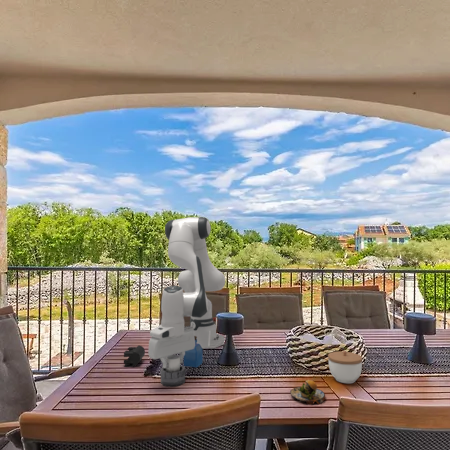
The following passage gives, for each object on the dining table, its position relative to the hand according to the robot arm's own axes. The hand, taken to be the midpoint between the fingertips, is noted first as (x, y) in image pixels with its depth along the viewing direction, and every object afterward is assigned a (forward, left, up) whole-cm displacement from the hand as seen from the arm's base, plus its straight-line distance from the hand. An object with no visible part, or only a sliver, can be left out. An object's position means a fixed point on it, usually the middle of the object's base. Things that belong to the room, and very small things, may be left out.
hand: (172, 365), depth 143 cm
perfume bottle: (-19, -10, -6) cm, 22 cm away
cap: (0, 0, -2) cm, 2 cm away
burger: (-23, +45, -7) cm, 51 cm away
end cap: (-2, -30, -6) cm, 31 cm away
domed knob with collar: (0, 0, -6) cm, 6 cm away
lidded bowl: (-47, +47, -6) cm, 67 cm away
